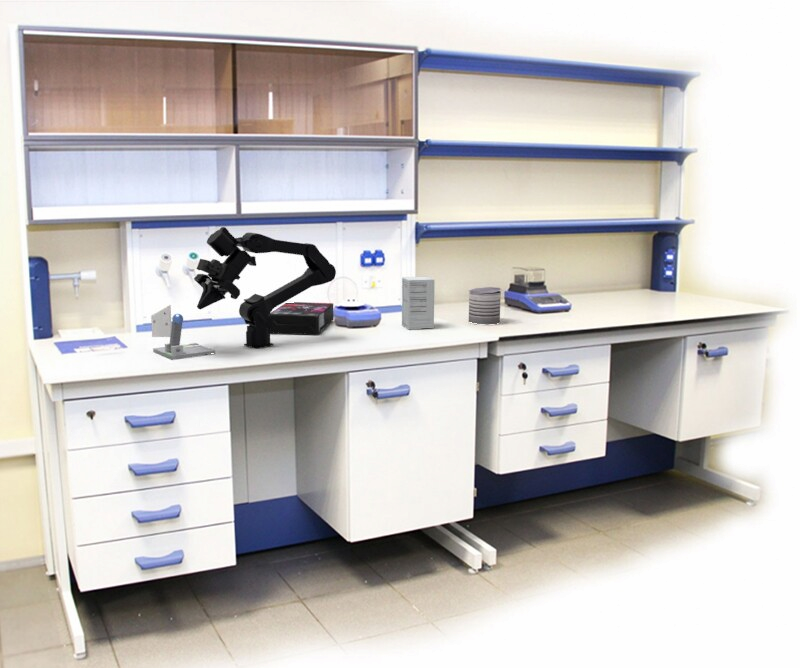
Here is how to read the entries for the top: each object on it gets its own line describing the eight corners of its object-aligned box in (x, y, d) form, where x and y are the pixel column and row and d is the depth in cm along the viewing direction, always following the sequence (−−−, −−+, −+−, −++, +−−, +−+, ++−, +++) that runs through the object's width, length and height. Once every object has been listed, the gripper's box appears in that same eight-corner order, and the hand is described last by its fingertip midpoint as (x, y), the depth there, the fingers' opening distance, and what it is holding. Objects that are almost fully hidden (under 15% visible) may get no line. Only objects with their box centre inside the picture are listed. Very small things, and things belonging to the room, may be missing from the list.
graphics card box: (265, 314, 273) (287, 299, 299) (266, 335, 274) (287, 318, 301) (317, 316, 271) (334, 301, 297) (317, 337, 272) (334, 320, 298)
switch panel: (195, 346, 254) (194, 334, 253) (214, 353, 244) (214, 341, 243) (153, 351, 246) (152, 339, 245) (172, 359, 236) (171, 347, 235)
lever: (176, 349, 241) (181, 313, 240) (181, 351, 239) (185, 314, 238) (166, 348, 239) (171, 312, 238) (171, 350, 237) (175, 314, 236)
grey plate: (184, 329, 268) (169, 305, 266) (157, 344, 268) (142, 321, 267) (186, 327, 271) (171, 303, 270) (159, 342, 272) (145, 319, 270)
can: (503, 325, 294) (505, 290, 292) (471, 325, 293) (472, 291, 291) (496, 319, 306) (497, 286, 303) (465, 319, 304) (465, 286, 302)
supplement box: (434, 329, 285) (435, 279, 282) (407, 330, 283) (408, 280, 280) (426, 324, 294) (427, 276, 291) (401, 325, 292) (401, 276, 289)
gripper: (199, 246, 249) (165, 286, 244) (229, 251, 235) (193, 294, 230) (224, 271, 255) (191, 310, 250) (254, 277, 241) (220, 319, 236)
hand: (198, 308), depth 242 cm, fingers closed
